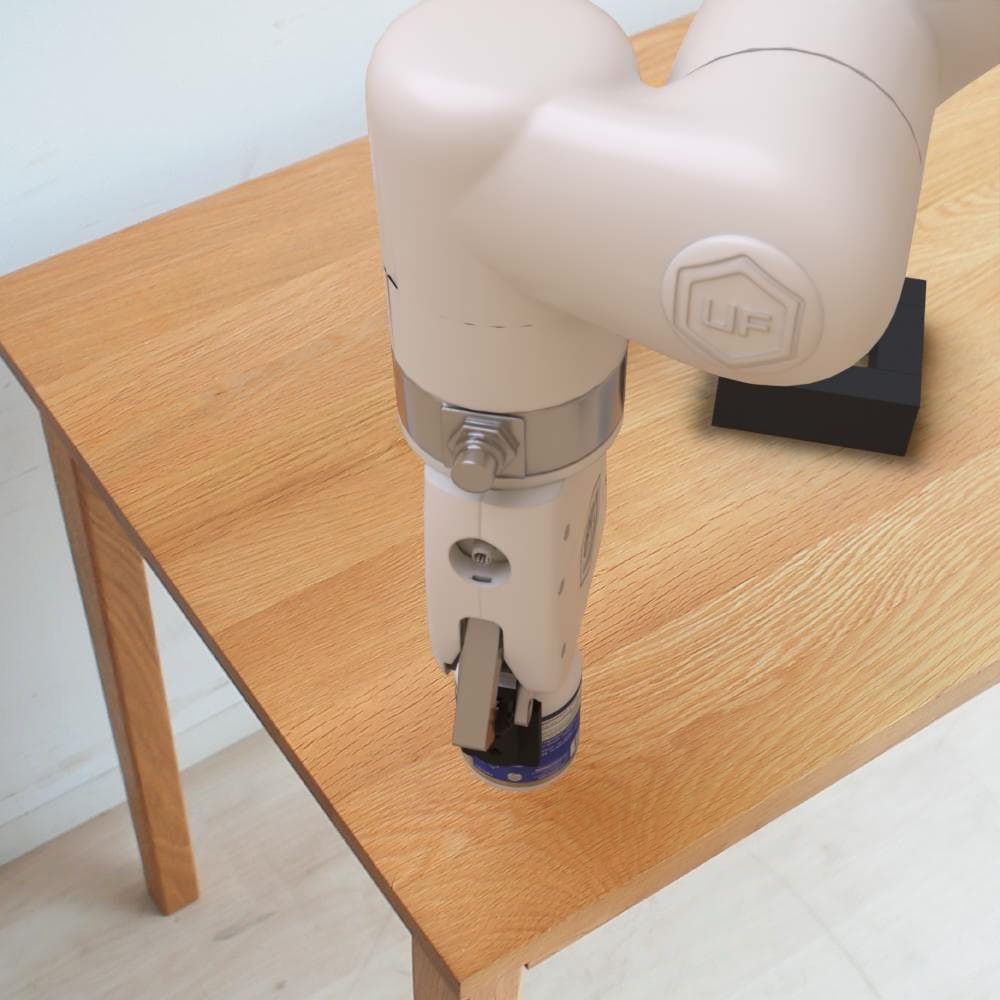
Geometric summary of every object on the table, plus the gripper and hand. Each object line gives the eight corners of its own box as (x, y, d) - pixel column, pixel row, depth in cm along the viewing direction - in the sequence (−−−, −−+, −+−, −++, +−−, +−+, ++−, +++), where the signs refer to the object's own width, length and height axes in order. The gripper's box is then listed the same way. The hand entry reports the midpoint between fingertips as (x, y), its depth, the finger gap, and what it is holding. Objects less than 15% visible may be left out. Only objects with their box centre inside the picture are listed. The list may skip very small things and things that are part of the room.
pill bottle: (434, 746, 63) (421, 622, 56) (515, 672, 66) (511, 546, 59) (524, 818, 61) (521, 698, 54) (604, 739, 63) (611, 615, 56)
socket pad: (904, 456, 82) (920, 406, 79) (711, 425, 83) (719, 374, 80) (912, 330, 89) (926, 279, 86) (734, 303, 90) (742, 253, 87)
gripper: (572, 596, 41) (566, 897, 54) (664, 229, 52) (640, 554, 65) (319, 554, 42) (374, 858, 55) (462, 205, 53) (479, 529, 67)
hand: (518, 691), depth 60 cm, fingers closed on pill bottle, 5 cm apart
